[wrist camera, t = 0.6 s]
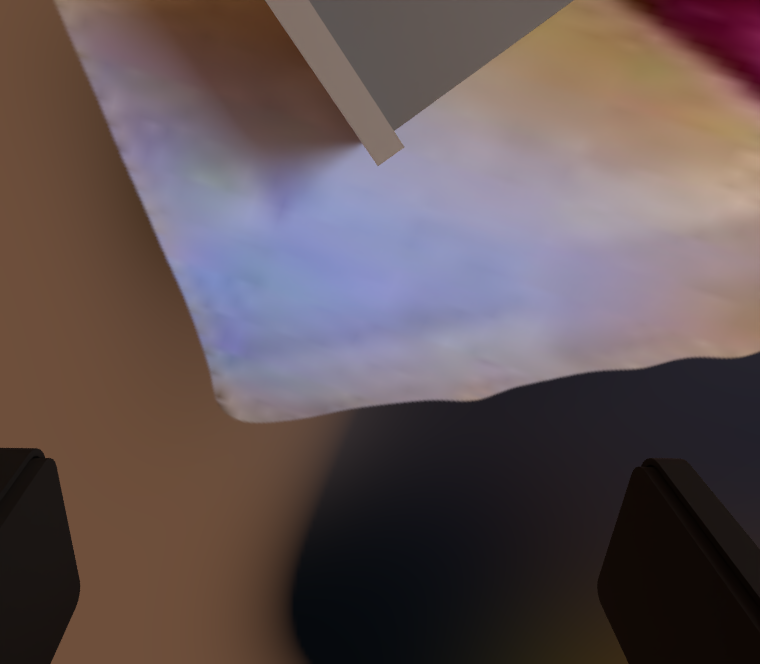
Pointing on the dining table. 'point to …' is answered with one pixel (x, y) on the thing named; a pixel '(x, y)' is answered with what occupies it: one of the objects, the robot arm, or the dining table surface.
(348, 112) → the gray box frame
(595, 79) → the dining table surface
